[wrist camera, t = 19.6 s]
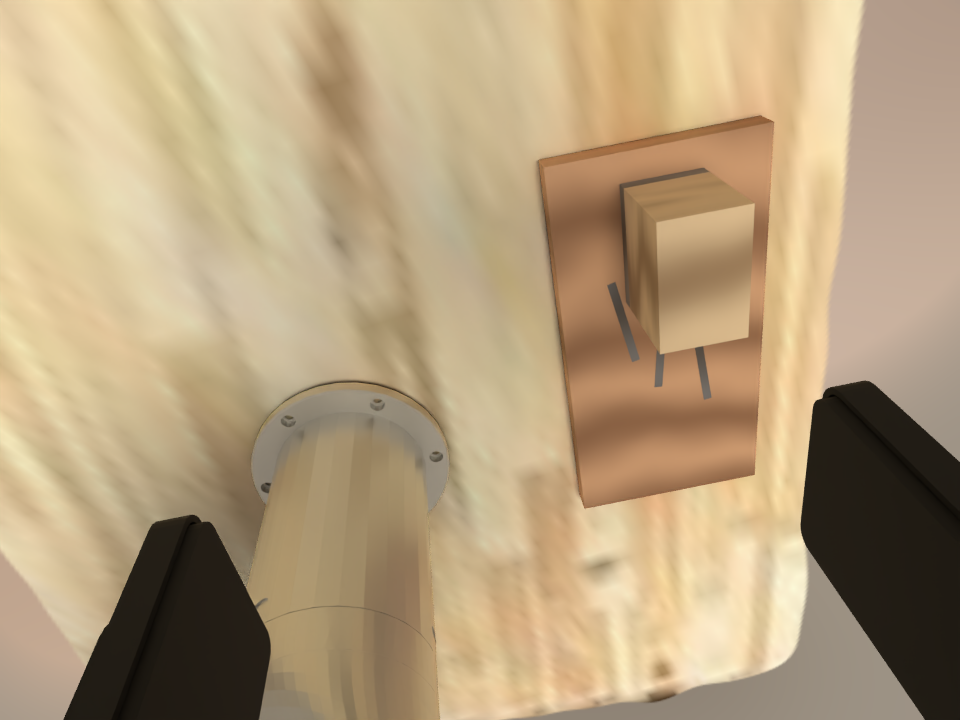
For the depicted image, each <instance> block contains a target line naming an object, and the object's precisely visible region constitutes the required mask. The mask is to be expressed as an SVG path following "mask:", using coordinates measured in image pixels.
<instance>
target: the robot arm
mask: <svg viewBox="0 0 960 720" xmlns="http://www.w3.org/2000/svg"><path fill="white" fill-rule="evenodd" d="M449 467H450V462H449V453H448V447H447V444H446V440H445V437H444V434H443V432H442V431H441V429H440V427H439V425H438V424H437V422H436V421H435V420H434V418H433V417H432V416H431V415H430V414H429V413H428V412H427V411H426V410H425V409H424V408H423V407H422V406H420V405H419V404H418V403H416V402H415V401H414V400H412V399H411V398H409V397H407V396H405V395H403V394H401V393H399V392H397V391H394V390H391V389H388V388H384V387H381V386H378V385H372V384H365V383H357V382H356V383H334V384H329V385H323V386H318V387H315V388H312V389H309V390H307V391H304V392H301V393H299V394H297V395H296V396H294V397H292V398H290V399H289V400H287V401H285V402H284V403H283V404H281V405H280V406H279V407H278V408H277V409H276V410H275V411H273V412H272V413H271V414H270V416H269V417H268V418H267V420H266V421H265V422H264V424H263V425H262V427H261V429H260V431H259V433H258V436H257V438H256V441H255V444H254V448H253V452H252V456H251V473H252V478H253V482H254V486H255V488H256V490H257V492H258V494H259V496H260V498H261V500H262V501H263V502H264V503H265V505H266V508H265V512H264V516H263V521H262V525H261V529H260V533H259V537H258V542H257V546H256V550H255V554H254V559H253V563H252V567H251V571H250V575H249V580H248V584H247V588H245V586H244V584H243V582H242V580H241V578H240V576H239V574H238V572H237V570H236V569H235V567H234V565H233V563H232V561H231V559H230V557H229V555H228V553H227V551H226V549H225V547H224V545H223V543H222V541H221V539H220V538H219V536H218V534H217V532H216V530H215V528H214V526H213V525H212V524H211V523H210V522H201V520H200V519H199V518H198V517H197V516H195V515H188V516H183V517H178V518H173V519H168V520H163V521H158V522H156V523H154V524H153V525H152V526H151V528H150V529H149V531H148V534H147V536H146V538H145V541H144V543H143V545H142V548H141V550H140V552H139V555H138V557H137V559H136V562H135V564H134V566H133V569H132V571H131V573H130V576H129V578H128V580H127V583H126V585H125V587H124V590H123V592H122V594H121V597H120V599H119V601H118V604H117V606H116V608H115V611H114V613H113V615H112V618H111V620H110V622H109V624H108V625H107V626H106V627H105V628H104V630H103V632H102V633H101V635H100V637H99V639H98V641H97V644H96V646H95V648H94V650H93V653H92V655H91V657H90V660H89V662H88V664H87V667H86V669H85V671H84V674H83V676H82V678H81V680H80V683H79V685H78V687H77V690H76V692H75V694H74V697H73V699H72V701H71V704H70V706H69V708H68V710H67V713H66V715H65V717H64V720H440V712H439V697H438V680H437V665H436V640H435V624H434V607H433V590H432V572H431V554H430V536H429V517H428V513H429V512H430V511H431V510H432V509H433V508H434V507H435V506H436V505H437V503H438V501H439V500H440V498H441V496H442V495H443V493H444V491H445V488H446V485H447V482H448V479H449ZM801 533H802V537H803V540H804V542H805V544H806V546H807V548H808V550H809V551H810V553H811V554H812V556H813V557H814V559H815V560H816V561H817V563H818V564H819V566H820V567H821V569H822V570H823V571H824V573H825V574H826V576H827V577H828V579H829V580H830V582H831V583H832V585H833V586H834V588H835V589H836V591H837V592H838V593H839V595H840V596H841V598H842V599H843V601H844V602H845V604H846V605H847V607H848V608H849V609H850V611H851V612H852V614H853V615H854V617H855V618H856V620H857V621H858V622H859V624H860V625H861V627H862V628H863V630H864V631H865V633H866V634H867V635H868V637H869V638H870V640H871V641H872V643H873V644H874V646H875V647H876V649H877V650H878V652H879V653H880V655H881V656H882V658H883V659H884V661H885V662H886V663H887V665H888V666H889V668H890V669H891V671H892V672H893V674H894V675H895V676H896V678H897V679H898V681H899V682H900V684H901V685H902V687H903V688H904V690H905V691H906V693H907V694H908V696H909V697H910V698H911V700H912V701H913V703H914V704H915V706H916V707H917V708H918V710H919V712H920V713H921V714H922V716H923V717H924V719H925V720H960V462H959V461H958V460H957V459H956V458H955V457H953V456H952V455H951V454H950V453H949V452H948V451H947V450H946V449H945V448H944V447H943V446H942V445H940V444H939V443H938V442H937V441H936V440H935V439H934V438H933V437H932V436H930V435H929V434H928V433H927V432H926V431H925V430H924V429H923V428H922V427H921V426H920V425H918V424H917V423H916V422H915V421H914V420H913V419H912V418H911V417H910V416H909V415H907V414H906V413H905V412H904V411H903V410H902V409H901V408H900V407H899V406H897V405H896V404H895V403H894V402H893V401H892V400H891V399H890V398H889V397H887V395H885V394H884V393H883V392H882V391H881V390H880V389H879V388H878V387H877V386H876V385H874V384H873V383H871V382H869V381H860V382H856V383H850V384H846V385H841V386H835V387H830V388H828V389H826V390H825V392H824V394H823V398H822V399H819V400H816V402H815V403H814V406H813V413H812V422H811V431H810V441H809V450H808V459H807V469H806V478H805V487H804V497H803V506H802V515H801Z"/></svg>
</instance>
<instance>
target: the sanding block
mask: <svg viewBox="0 0 960 720" xmlns="http://www.w3.org/2000/svg"><path fill="white" fill-rule="evenodd" d="M619 186H620V204H621V221H622V239H623V256H624V273H625V291H626V303H627V304H628V306H629V307H630V309H631V310H632V312H633V314H634V315H635V317H636V318H637V320H638V321H639V323H640V324H641V326H642V327H643V329H644V330H645V332H646V333H647V335H648V336H649V338H650V340H651V341H652V343H653V344H654V346H655V347H656V349H657V350H658V352H659V353H660V354H665V353H670V352H675V351H680V350H685V349H690V348H696V347H701V346H706V345H711V344H716V343H721V342H727V341H732V340H737V339H742V338H747V337H748V333H749V312H750V291H751V271H752V250H753V229H754V209H755V203H754V202H752V201H751V200H749V199H748V198H746V197H745V196H744V195H742V194H741V193H739V192H738V191H736V190H735V189H734V188H732V187H731V186H729V185H728V184H726V183H725V182H724V181H722V180H721V179H719V178H718V177H716V176H715V175H714V174H712V173H711V172H709V171H708V170H706V169H705V168H699V169H694V170H689V171H684V172H678V173H673V174H668V175H663V176H658V177H653V178H647V179H642V180H637V181H632V182H627V183H621V184H619Z"/></svg>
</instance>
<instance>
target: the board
mask: <svg viewBox="0 0 960 720" xmlns="http://www.w3.org/2000/svg"><path fill="white" fill-rule="evenodd" d="M773 132H774V122H773V121H771V120H769V119H767V118H764V117H762V116H757V117H752V118H747V119H742V120H737V121H732V122H727V123H722V124H717V125H712V126H707V127H702V128H697V129H692V130H687V131H682V132H677V133H672V134H667V135H662V136H657V137H652V138H647V139H642V140H637V141H632V142H627V143H622V144H617V145H612V146H606V147H601V148H596V149H591V150H586V151H581V152H576V153H571V154H566V155H561V156H556V157H551V158H546V159H541V160H539V168H540V176H541V184H542V192H543V200H544V209H545V217H546V225H547V233H548V241H549V249H550V257H551V265H552V274H553V282H554V290H555V298H556V306H557V314H558V322H559V330H560V338H561V347H562V355H563V363H564V371H565V379H566V387H567V395H568V403H569V412H570V420H571V428H572V436H573V444H574V452H575V460H576V468H577V476H578V485H579V493H580V497H581V499H582V502H583V505H584V508H590V507H595V506H600V505H605V504H611V503H616V502H621V501H626V500H631V499H636V498H641V497H646V496H651V495H656V494H661V493H666V492H671V491H676V490H681V489H686V488H691V487H696V486H701V485H706V484H711V483H716V482H721V481H726V480H731V479H736V478H741V477H746V476H751V475H754V474H755V456H756V438H757V420H758V402H759V384H760V366H761V348H762V330H763V312H764V294H765V276H766V258H767V240H768V222H769V204H770V186H771V168H772V150H773ZM699 168H705V169H706V170H708V171H709V172H711V173H712V174H714V175H715V176H716V177H718V178H719V179H721V180H722V181H724V182H725V183H726V184H728V185H729V186H731V187H732V188H734V189H735V190H736V191H738V192H739V193H741V194H742V195H744V196H745V197H746V198H748V199H749V200H751V201H752V202H754V203H755V209H754V229H753V250H752V271H751V291H750V312H749V333H748V337H747V338H742V339H737V340H732V341H727V342H721V343H716V344H711V345H706V346H701V347H696V348H690V349H685V350H680V351H675V352H670V353H665V354H660V353H659V352H658V350H657V349H656V347H655V346H654V344H653V343H652V341H651V340H650V338H649V336H648V335H647V333H646V332H645V330H644V329H643V327H642V326H641V324H640V323H639V321H638V320H637V318H636V317H635V315H634V314H633V312H632V310H631V309H630V307H629V306H628V304H627V303H626V291H625V273H624V256H623V239H622V221H621V204H620V186H619V184H621V183H627V182H632V181H637V180H642V179H647V178H653V177H658V176H663V175H668V174H673V173H678V172H684V171H689V170H694V169H699Z"/></svg>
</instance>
